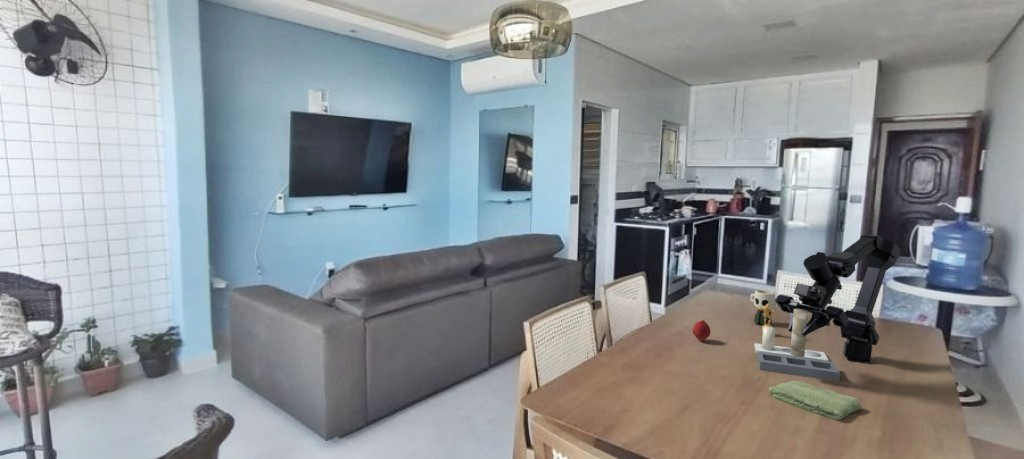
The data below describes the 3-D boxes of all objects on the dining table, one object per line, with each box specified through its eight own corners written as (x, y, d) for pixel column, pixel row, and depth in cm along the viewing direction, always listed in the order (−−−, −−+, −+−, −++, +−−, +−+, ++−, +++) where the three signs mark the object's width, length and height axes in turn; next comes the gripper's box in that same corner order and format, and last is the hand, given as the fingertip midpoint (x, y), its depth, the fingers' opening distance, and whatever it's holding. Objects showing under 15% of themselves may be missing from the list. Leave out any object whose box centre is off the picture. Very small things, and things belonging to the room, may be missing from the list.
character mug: (744, 322, 196) (746, 290, 195) (753, 319, 201) (755, 288, 199) (772, 329, 188) (775, 295, 186) (781, 325, 192) (783, 293, 191)
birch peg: (804, 353, 143) (808, 309, 141) (804, 357, 139) (808, 312, 138) (790, 351, 144) (793, 308, 143) (790, 355, 141) (793, 311, 140)
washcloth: (790, 385, 138) (791, 374, 138) (862, 411, 124) (864, 399, 123) (765, 397, 131) (766, 385, 130) (838, 425, 116) (840, 412, 116)
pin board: (832, 369, 149) (833, 361, 149) (839, 381, 140) (840, 372, 140) (757, 359, 156) (758, 351, 156) (759, 369, 148) (760, 361, 148)
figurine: (781, 336, 179) (784, 304, 178) (775, 340, 175) (778, 307, 174) (757, 330, 185) (759, 299, 184) (751, 334, 181) (753, 302, 180)
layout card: (823, 355, 161) (825, 331, 160) (828, 363, 154) (830, 338, 153) (754, 346, 169) (756, 323, 168) (756, 353, 162) (757, 329, 161)
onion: (707, 338, 176) (708, 316, 175) (711, 344, 170) (713, 321, 169) (690, 337, 176) (691, 316, 175) (694, 343, 170) (695, 320, 169)
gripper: (781, 268, 149) (755, 307, 145) (846, 280, 133) (819, 325, 129) (795, 290, 154) (770, 329, 150) (860, 305, 137) (833, 349, 134)
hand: (796, 332), depth 140 cm, fingers closed on birch peg, 4 cm apart
